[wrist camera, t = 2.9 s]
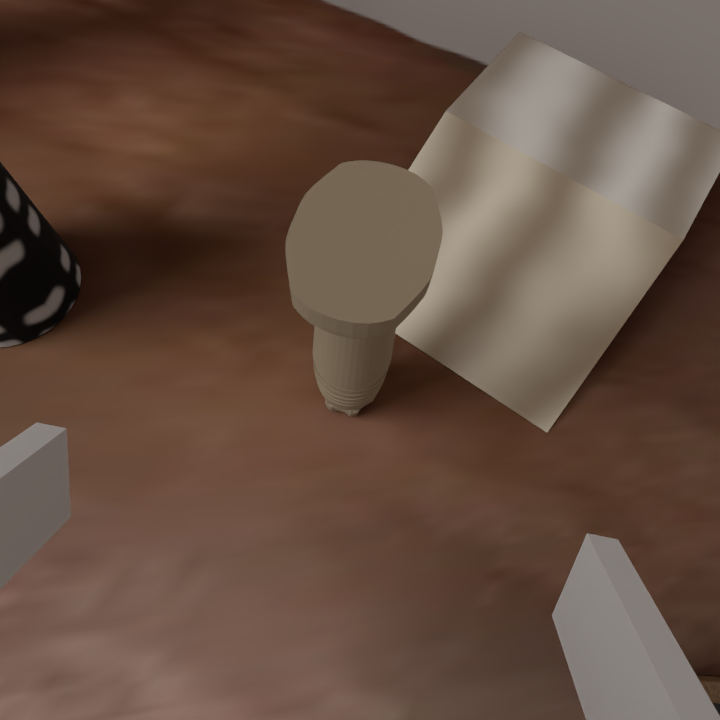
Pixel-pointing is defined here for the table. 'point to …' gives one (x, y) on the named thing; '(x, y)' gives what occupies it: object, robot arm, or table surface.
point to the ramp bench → (551, 221)
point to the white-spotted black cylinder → (31, 268)
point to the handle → (360, 271)
